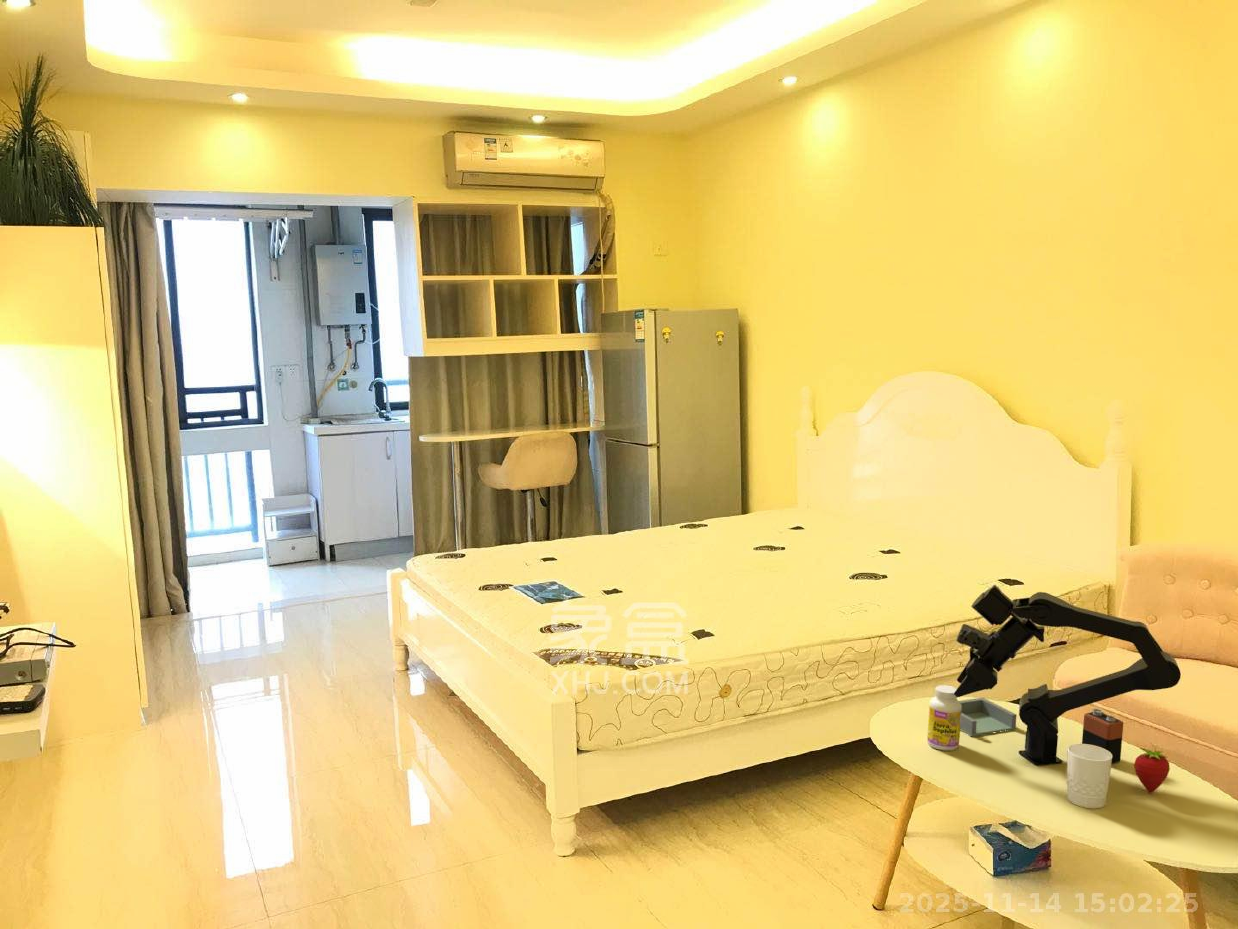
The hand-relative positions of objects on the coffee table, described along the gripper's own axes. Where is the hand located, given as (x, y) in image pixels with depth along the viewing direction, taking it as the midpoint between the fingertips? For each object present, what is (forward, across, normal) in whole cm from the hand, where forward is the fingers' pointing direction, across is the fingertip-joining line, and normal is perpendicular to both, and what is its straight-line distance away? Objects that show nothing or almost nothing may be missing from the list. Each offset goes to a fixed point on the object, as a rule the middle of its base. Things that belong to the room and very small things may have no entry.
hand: (957, 688), depth 222 cm
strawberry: (-13, +8, +38) cm, 41 cm away
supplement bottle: (+12, +1, +6) cm, 13 cm away
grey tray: (+7, -14, +12) cm, 20 cm away
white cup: (-6, +18, +28) cm, 34 cm away
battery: (-8, -6, +31) cm, 33 cm away
